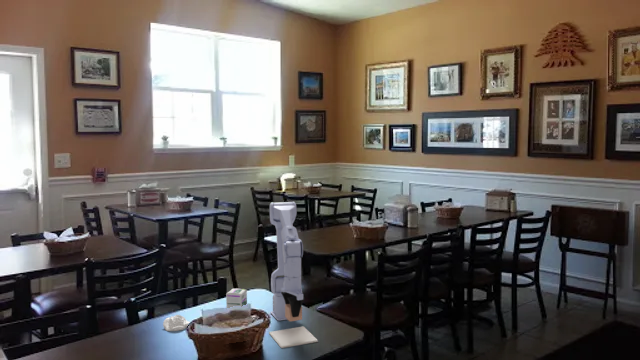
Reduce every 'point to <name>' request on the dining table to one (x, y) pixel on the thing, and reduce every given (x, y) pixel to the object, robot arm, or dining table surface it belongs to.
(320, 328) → the dining table surface
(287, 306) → the terracotta block
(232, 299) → the syrup box
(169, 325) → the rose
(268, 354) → the dining table surface
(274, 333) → the serving plate
